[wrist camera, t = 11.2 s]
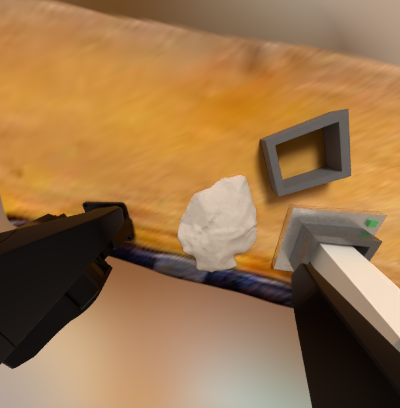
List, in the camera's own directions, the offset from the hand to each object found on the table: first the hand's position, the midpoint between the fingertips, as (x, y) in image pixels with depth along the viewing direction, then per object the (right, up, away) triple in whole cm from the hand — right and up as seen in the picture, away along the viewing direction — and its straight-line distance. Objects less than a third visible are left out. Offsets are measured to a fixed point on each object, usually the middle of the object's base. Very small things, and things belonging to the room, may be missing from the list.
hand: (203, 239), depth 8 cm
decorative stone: (+3, -1, +15) cm, 15 cm away
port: (+16, -3, +13) cm, 21 cm away
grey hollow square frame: (+10, +7, +9) cm, 16 cm away
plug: (+16, -4, +13) cm, 20 cm away
